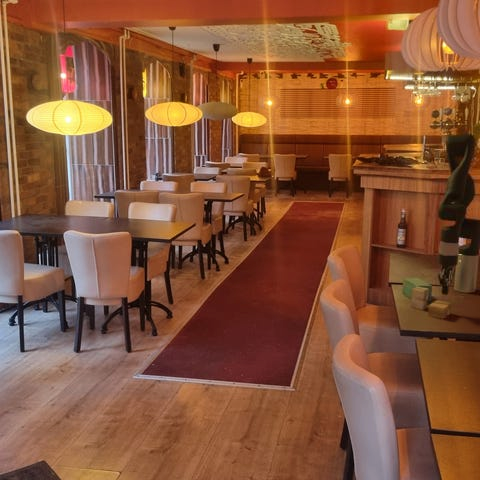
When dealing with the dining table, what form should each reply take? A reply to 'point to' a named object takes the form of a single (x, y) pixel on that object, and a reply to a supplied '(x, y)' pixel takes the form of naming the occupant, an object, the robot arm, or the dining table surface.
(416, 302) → the birch pillar
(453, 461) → the dining table surface
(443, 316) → the oak pillar
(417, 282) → the box
